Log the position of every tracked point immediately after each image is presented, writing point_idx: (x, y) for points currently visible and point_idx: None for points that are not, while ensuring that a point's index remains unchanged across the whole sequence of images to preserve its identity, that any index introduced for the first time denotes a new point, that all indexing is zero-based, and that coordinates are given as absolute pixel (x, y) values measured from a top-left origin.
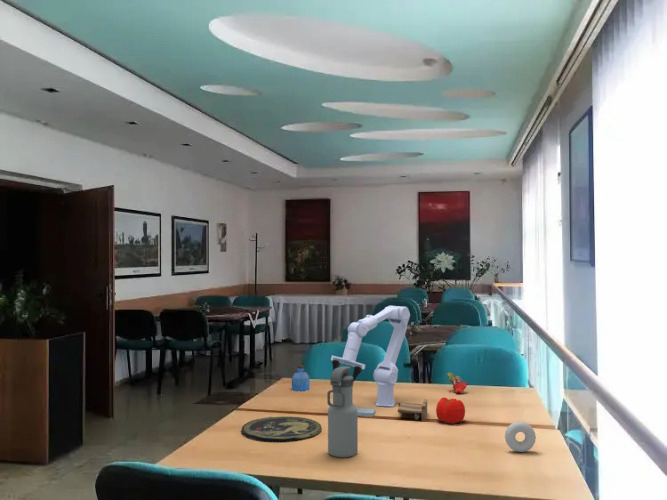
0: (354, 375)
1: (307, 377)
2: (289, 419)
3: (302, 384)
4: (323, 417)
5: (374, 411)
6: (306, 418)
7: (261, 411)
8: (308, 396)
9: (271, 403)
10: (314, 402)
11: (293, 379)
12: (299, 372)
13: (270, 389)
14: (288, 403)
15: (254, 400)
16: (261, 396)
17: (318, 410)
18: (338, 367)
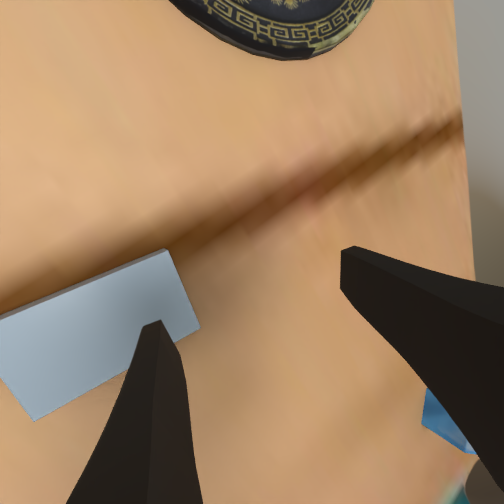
0: (117, 438)
1: (467, 443)
2: (303, 2)
3: None
4: (223, 156)
5: (10, 385)
6: (251, 36)
7: (420, 128)
8: (397, 369)
9: (434, 230)
10: (356, 328)
11: None
12: None
13: None
14: (404, 261)
15: (469, 229)
16: (470, 275)
17: (297, 247)
18: (457, 420)
